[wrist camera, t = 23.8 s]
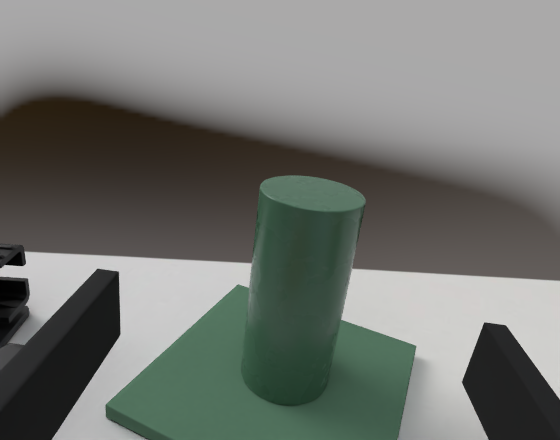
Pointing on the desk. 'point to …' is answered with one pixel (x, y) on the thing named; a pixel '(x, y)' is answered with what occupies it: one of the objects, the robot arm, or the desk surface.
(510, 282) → the desk surface
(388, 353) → the green mat
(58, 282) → the desk surface
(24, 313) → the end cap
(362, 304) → the desk surface
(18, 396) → the robot arm
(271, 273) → the green tin
